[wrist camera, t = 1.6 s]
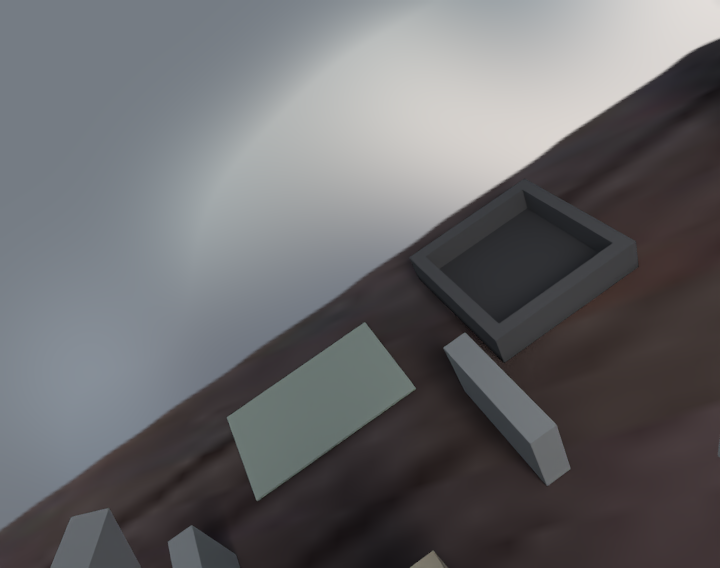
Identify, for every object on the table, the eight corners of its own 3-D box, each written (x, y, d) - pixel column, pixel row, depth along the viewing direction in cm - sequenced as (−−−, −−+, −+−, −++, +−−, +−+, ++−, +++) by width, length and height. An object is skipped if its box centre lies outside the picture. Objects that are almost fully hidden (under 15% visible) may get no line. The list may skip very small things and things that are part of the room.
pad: (365, 323, 56) (364, 322, 56) (416, 388, 48) (415, 387, 48) (227, 418, 54) (226, 417, 54) (257, 501, 47) (256, 500, 47)
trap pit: (530, 201, 58) (524, 178, 56) (638, 266, 48) (635, 241, 46) (418, 278, 57) (408, 257, 55) (504, 362, 46) (495, 340, 44)
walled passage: (484, 376, 46) (465, 332, 42) (570, 468, 39) (556, 424, 35) (214, 570, 44) (167, 542, 40) (249, 707, 37) (196, 689, 33)
